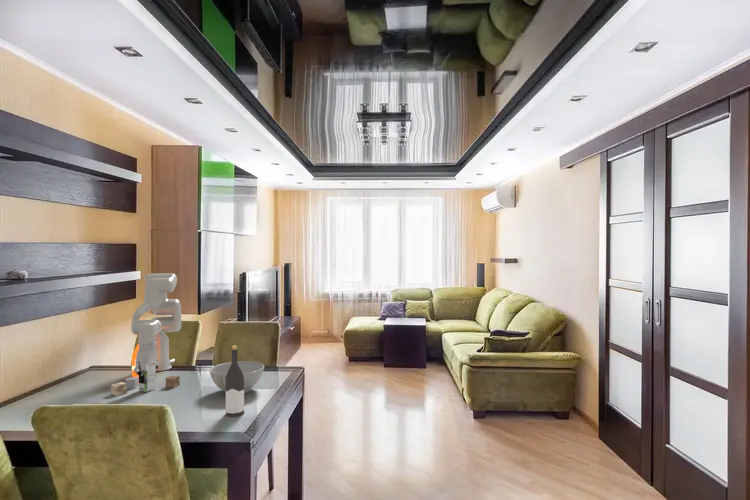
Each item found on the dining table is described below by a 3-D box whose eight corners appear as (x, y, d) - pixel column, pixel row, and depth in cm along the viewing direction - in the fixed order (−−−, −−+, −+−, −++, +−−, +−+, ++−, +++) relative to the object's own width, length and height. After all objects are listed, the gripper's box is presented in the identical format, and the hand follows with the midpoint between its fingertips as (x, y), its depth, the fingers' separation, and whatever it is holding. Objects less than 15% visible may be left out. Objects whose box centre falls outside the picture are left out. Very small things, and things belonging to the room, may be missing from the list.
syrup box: (138, 390, 230) (138, 362, 230) (149, 387, 235) (148, 359, 235) (145, 392, 227) (145, 364, 227) (156, 389, 233) (155, 361, 232)
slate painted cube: (128, 386, 238) (128, 376, 238) (138, 385, 239) (138, 376, 239) (124, 389, 233) (124, 379, 233) (135, 388, 234) (134, 379, 234)
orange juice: (144, 382, 244) (143, 346, 244) (131, 381, 247) (131, 345, 247) (155, 378, 252) (155, 343, 251) (143, 377, 254) (143, 342, 254)
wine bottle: (246, 410, 202) (246, 343, 202) (241, 416, 194) (241, 347, 194) (228, 410, 202) (228, 344, 202) (223, 417, 194) (222, 348, 194)
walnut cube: (170, 384, 241) (170, 375, 241) (179, 385, 240) (179, 375, 240) (165, 387, 236) (165, 378, 236) (174, 387, 235) (174, 378, 235)
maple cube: (121, 391, 229) (121, 382, 229) (126, 393, 227) (126, 383, 227) (111, 394, 225) (111, 384, 225) (116, 396, 222) (116, 386, 222)
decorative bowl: (207, 402, 212) (207, 377, 212) (212, 385, 238) (211, 363, 238) (265, 397, 220) (265, 372, 220) (263, 381, 245) (263, 359, 245)
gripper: (155, 342, 240) (155, 375, 241) (126, 349, 224) (127, 385, 225) (165, 343, 238) (166, 377, 238) (138, 351, 222) (138, 387, 222)
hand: (147, 380), depth 231 cm, fingers closed on syrup box, 6 cm apart
